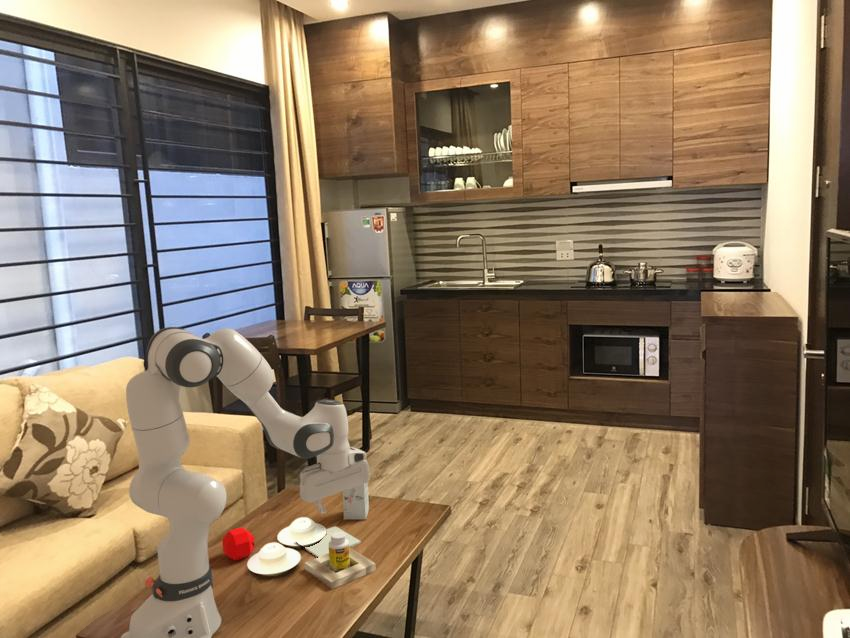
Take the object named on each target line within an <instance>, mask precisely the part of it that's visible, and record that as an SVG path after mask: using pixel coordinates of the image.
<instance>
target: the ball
mask: <svg viewBox="0 0 850 638" xmlns="http://www.w3.org/2000/svg"><path fill="white" fill-rule="evenodd" d="M255 548H256V547H255V536H254V535H253V534H252V533H251V532H250V531H249V530H247V529H245V527H242V526H241V527H237V528H233V529H230V530H228V531H227V533H226V534H225V535H224V536H223V538H222V551H223V552H224V554H225V555H226V556H227V557H228V558H230V559H232V560H233V561H235V562H236V561H239V560H242V559H245V558H249V556H250V555H251V554H252V552H253V551H254V550H255Z"/></svg>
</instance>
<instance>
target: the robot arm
mask: <svg viewBox="0 0 850 638" xmlns="http://www.w3.org/2000/svg"><path fill="white" fill-rule="evenodd" d="M143 368H144V369H145V370H144V371H142V372H139V373H137V374H136V375H134V376H133V377H131V378H130V380H129V381H128V382H127V383H126V387H125V396H126V406H127V407H126V408H127V415H128V419H129V423H130V426H131V430H132V433H133V438H134V442H135V445H136V450H137V454H138V471H137V472H136V473H135V474H134V476H133V477H132V479H131V482H130V483H129V488H128V493H129V498H130V500H131V502H132V503H133V504H134V505H135V506H137V507H139V509H142V510H143V511H145V512H147V513H149V514H152V515H157V516H161V517H165V518H167V520H168V522H169V530H168V533H166V534H165V535H164V536H163V537H162V538H161V539H160V540H159V543H157V544H158V545H157V547H156V549H157V552H156V553H157V559H158V568H159V569H158V570H159V575H158V577H157V578H156V580H155V579H154V578H153V577H151V576H149V577H147V578H146V579H145V580H144V581H145V582H144V584H145V585H146V587H147V588H148V589H152V594H151V595H150V596H149V597H148V598H147V599H146V600H145V601H144V602H143V603H142V604H141V605H140V606H139V607H138V608H137V609H136V610H135V611H134V612H133V613H132V615H131V617H130V621H129V630H128V631H126V632H124V633H123V634H121V636H120V638H212V636H213V635H214V633H216V632H217V630H218V629H220V626H221V624H222V616H221V614H220V613H219V610H218V607H217V604H216V601H215V596H214V591H213V588H214V577H213V576H214V575H213V570H212V566H211V564H210V561H209V559H210V558H209V532H210V528H211V526H212V524H213V522H215V521H216V520H217V519H218V518H219V517H221V515H222V513H223V511H224V510H225V507H226V505H227V499H228V498H227V497H228V496H227V489H226V488H225V485H224V484H223V483H222V482H220V481H219V480H217V479H215V478H213V477H211V476H210V475H207V474H204V473H200V472H195V471H190V470H186V469H185V468H184V467H183V466H182V465H183V464H182V456H183V455H184V454H185V453H186V451H187V450H188V449H189V446H190V442H191V439H190V436H189V431H188V428H187V427H188V426H187V424H186V420H185V416H184V415H185V414H184V412H183V408H182V404H181V402H180V389H181V387H183V388H196V387H197V388H198V387H201V386H202V385H204V384H206V383H207V382H209V381H210V380H211V379H213V378H215V377H217V378H218V379H219V381H220V382H221V383H222V384H223V385H224V386H225V388H227V389H228V390H229V391H230V392H231V393H232V394H233V395H234V396H235V397H237V398H238V399H239V400H240V401H242V402H243V404H245V405H246V406H247V408H248V409H249V410H250V412H252V414H253V415H254V416H255V417H256V419H257V420H258V421H259V423H260V425H261V426H262V429H263V431H264V434H265V435H264V436H265V438H266V440H267V442H268V443H269V445H270V446H271V447H273V448H275V449H277V450H279V451H280V450H281V451H284V452H287V453H289V454H290V455H293V456H296V457H299V458H301V459H312V458H314V457H316V461H317V463H315V464H312V465H310V466H305V467H304V468H303V469H302V471H301V472H300V473H299V482H300V484H299V486H300V487H299V498H300V499H301V500H303V501H304V502H305V503H308V504H309V503H311V504H312V503H314V504H315V505H316V507H317V512H318V514H320V515H323V514H325V513H327V506H326V505H324V504H321V503H322V502H323V501H322V499H326V498H327V497H330V496H334V495H336V494H339V493H341V492H342V493H343V491H345V490H348V489H352V490H351V493H350V495H348V496H347V497H348V502H349V503H353V502H356V498H355V496H356V494H357V492H358V490H359V487H358V486H359V485H362V484H365V483H367V482H368V483H369V481H370V476H371V474H370V466H369V463H368V461H367V460H366V459H367V452H366V451H364V450H362V449H359V448H356V447H352V446H351V445H350V442H349V439H348V438H349V419H348V413H347V409H346V406H345V404H344V403H342V402H341V401H338V400H335V399H319V400H317V401H316V402H315V403H314V406H313V408H311V410H310V411H309V412H308V413H306V414H305V415H304V416H299V415H296V414H295V413H293V412H290V411H288V410H285V409H283V408H282V407H280V405H279V404H278V403H277V401H276V400H275V398H274V397H273V396H272V395H271V394H270V392H269V391H270V390H271V388H272V386H273V384H274V381H275V380H274V379H275V373H274V372H273V369H272V367H271V366H270V364H269V363H268V361H267V360H266V359H265V357H264V356H263V355H262V353H260V352H259V350H258V349H257V348H256V347H255V346H254V345H253V344H252V343H251V342H250V341H249V340H248V339H246V338H245V337H244V336H243V335H242V334H241V333H239V332H238V331H236V330H235V329H233V328H230V327H229V328H227V327H226V328H220V329H218V330H215V331H214V332H212V333H211V334H210V335H209V336H208V337H205V338H200V337H199V336H197V335H196V334H194V333H193V332H189V331H187V330H186V329H184V328H181V327H179V326H178V327H177V326H169V327H164V328H161V329H159V330H157V331H156V332H155V333H153V335H152V336H151V337H150V340H149V341H148V345H147V349H146V355H145V357H144V361H143Z"/></svg>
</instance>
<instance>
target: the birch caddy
mask: <svg viewBox="0 0 850 638" xmlns="http://www.w3.org/2000/svg"><path fill="white" fill-rule="evenodd" d="M349 554H350V567H349V568H347V569H344V570H342V571H340V572H337V573H334V572H333V571H332V570H330V562H329V553H328V554H325V555H323V556H320V557H318V558H317V557H315V558H313V559H310V560H308V561H305V562H304V570H305V571H306V572H308V573H309V574H310V573H311V574H310V575H312V576H313V577H315V578H316V577H317V578H318V579H317V578H316V579H317V580H319V581H320V580H321V581H322V582H321V581H320V582H321V583H323V584H324V583H325V584H326V585H325V584H324V585H325V586H327V587H328V588H329V589H331V590H334V589H336V588H339V587H341V586H343V585H346V584H348V583H350V582H352V581H356V580H357V579H360V578H362V577H363V576H366V575H368V574H371V573H373V572H375V571H377V566H376V563H375V562H374V561H372V560H371V559H369V558H368V557H366V556H364V555H363V554H361V553H360V552H358V551H356V550H355V549H353V548H352V547H349Z"/></svg>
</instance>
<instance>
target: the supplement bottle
mask: <svg viewBox="0 0 850 638" xmlns="http://www.w3.org/2000/svg"><path fill="white" fill-rule="evenodd" d="M329 562H330V566H329V569H330V570H332V571H333V572H334V573H337V572H340V571H342V570H344V569H347V568H349V567H351V564H350V554H349V541H348V540H347V539H346V534H345V533H344V532H335V533H333V534H332V535H331V541H330V542H329Z"/></svg>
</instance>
